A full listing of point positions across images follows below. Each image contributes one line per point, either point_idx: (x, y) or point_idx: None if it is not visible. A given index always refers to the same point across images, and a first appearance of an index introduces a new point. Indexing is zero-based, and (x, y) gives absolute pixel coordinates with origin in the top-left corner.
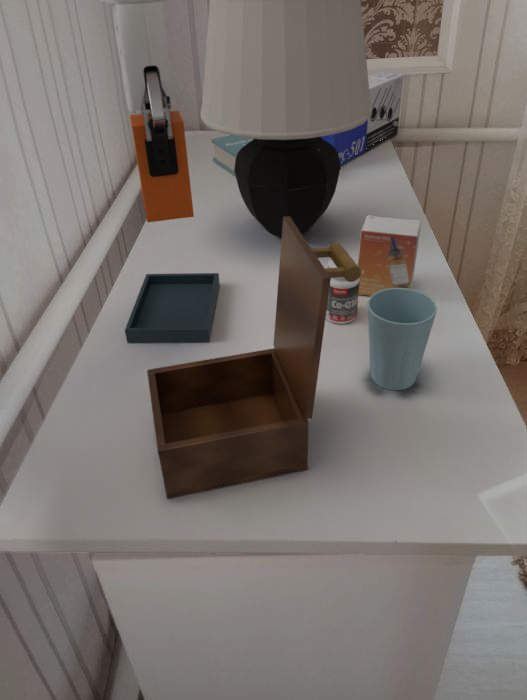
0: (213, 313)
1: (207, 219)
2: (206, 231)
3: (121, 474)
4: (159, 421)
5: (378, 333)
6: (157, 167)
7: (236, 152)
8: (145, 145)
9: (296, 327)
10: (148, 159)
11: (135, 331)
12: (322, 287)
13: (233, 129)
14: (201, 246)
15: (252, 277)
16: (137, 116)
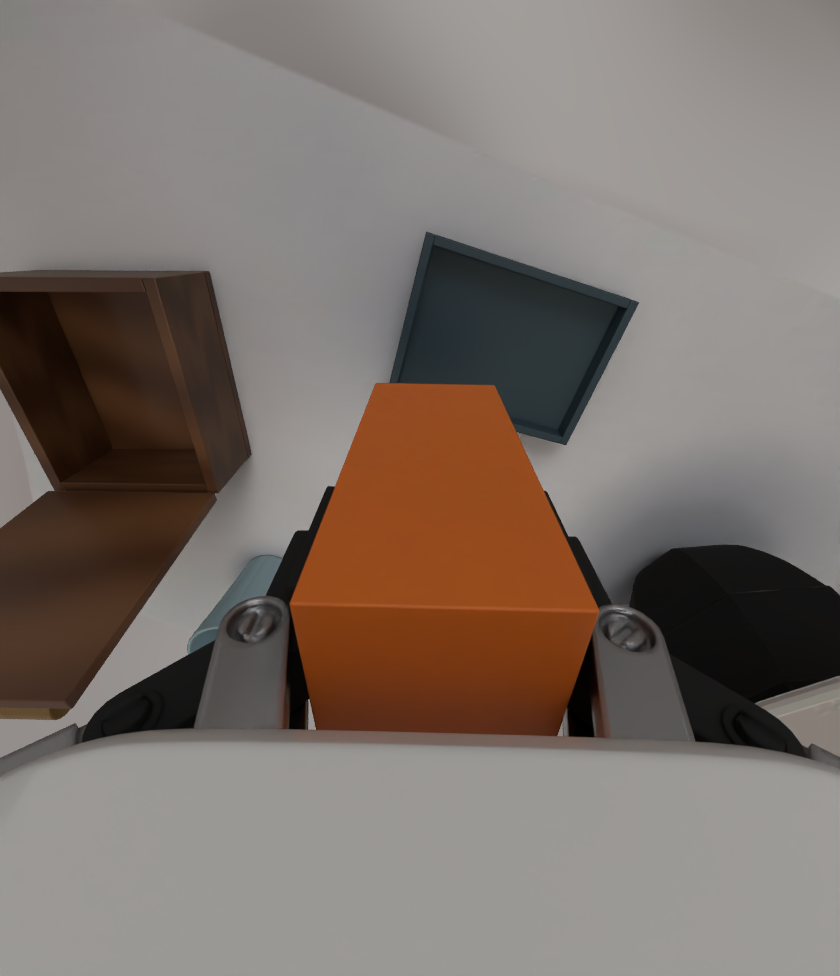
0: None
1: (833, 459)
2: (781, 448)
3: (73, 197)
4: (12, 287)
5: (217, 610)
6: (295, 535)
7: None
8: (294, 569)
9: (44, 561)
10: (312, 527)
11: (420, 256)
12: None
13: (794, 712)
14: (723, 429)
15: (557, 488)
16: (530, 647)
